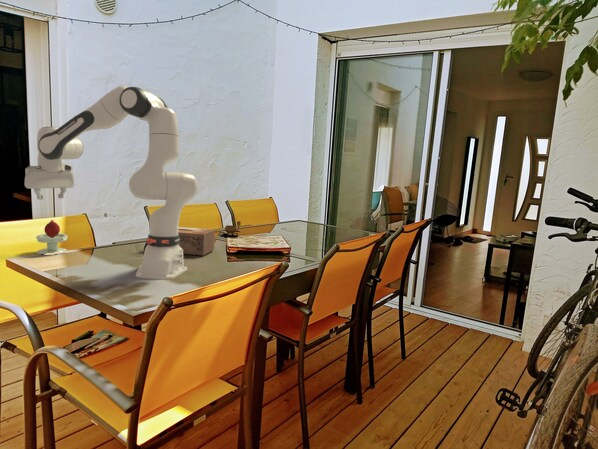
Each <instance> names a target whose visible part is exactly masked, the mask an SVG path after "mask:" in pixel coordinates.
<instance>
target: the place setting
mask: <svg viewBox="0 0 598 449" xmlns="http://www.w3.org/2000/svg"><path fill="white" fill-rule="evenodd" d="M241 225H242V222H241V220H240V221H236V225H225V226H224V229H222V230H220V234H222V233H224V234H238V233H235V232H239V233H240V234H242V233H241V231H238V229H239V230H240V226H241ZM222 231H226V232H227V233H225V232H222Z"/></svg>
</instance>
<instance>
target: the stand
mask: <svg viewBox="0 0 598 449" xmlns="http://www.w3.org/2000/svg"><path fill="white" fill-rule="evenodd" d="M68 237H69V236H68V234H65V233H59V234H58V235H57V236H55V237H54V238H51V237H49V236H48V235H47V234H46V233H43V234H41V233H40V234H39V235H36V238H35V239H36V240H37V242H38V243H42V244H44V243H45V244H46V247H45V248H43V249H39V250H37V255H39V254H46V253H54V252H63V251H67V252H68V250H67V249H68V248H67V249H66V248H64V247H59V245H58V244H59V243H63V242H66V241H67V239H68Z"/></svg>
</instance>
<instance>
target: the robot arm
mask: <svg viewBox="0 0 598 449" xmlns="http://www.w3.org/2000/svg"><path fill="white" fill-rule="evenodd" d="M129 115H130V116H132V117H135V118H137V119H139V120H141V121H145V122H147V124H148V152H147V158H146V160H145V162H144V163H143V165H142V167H140V169H138V170H137V171H136V172H134V173H132V175H131V177H130V179H129V182H128V189H129V191H130V193H131V194H132V196H133V197H134V198H138V199H143V200H151V201H154V200H156V201H157V200H158V201H159V200H161V201H165V203H164V205H163V206H161V207H160V208H157V209H155V210H153V211H151V212H152V213H150V215H149V219H148V220H149V221H148V223H149V229H148V231H149V232H148V235H147V238H146V243H147V246H146V247H145V250H144V254H143V257H142V259H141V261H142V262H141V264H140V265H139V266H138V269H137V271H136V273H135V277H136V278H140V279H148V280H172V279H173V280H174V278H176V277H178V276H180V275H182V274H183V273H185V272H187V271H188V267H187V266H185V265H184V254H183V249H182V248H181V247H180V246H179V240H180V238H179V234H178V228H179V227H180V226H179V224H180V216H181V214H182V213H181V212H182V210H183V209H184V207H185V206H186V204H187V203H189V201H191V200H193V199H194V198H195V196H196V195H197V193H198V190H199V183H198V180H197V179H196V176H194V175H193V174H189V173H185V172H181V171H179V172H177V171H176V172H175V171H164V170H163V169H164V166H166V165H168V164H170V163H172V162H173V161H176V160H177V158H178V157H179V154H180V148H179V147H180V143H179V142H180V140H179V139H180V138H179V135H180V134H179V133H180V132H179V124H178V118H177V114H176V113H175V111H174V110H173V109H171V108H169V107H168V104H167V103H166V102H165V101H164V100H163V99H162V98H161V97H158V96H156V95H155V94H153V93H152V92H151V91H147V90H145V89H142V88H140V87H139V86H138V87H137V86H126V85H119V86H117V87H115V88H113V89H112V90H110V91H109V92H107V93H106V94H104V95H103V96H102V97H101V98H100V99H99V100H97V101H96V102H95V103H93V104H92V105H91V106H90V107H88V108H86V109H85V110H83V111H82V112H80V113H79V114H76V115H75V116H73V117H72V118H70V119H68V121H67V122H65V123H64V124H62V125H61V126H60V127H57V126H44V127H40V128H39V129H38V131H37V136H36V147H37V148H36V149H37V152H38V155H37V165H28V166H27V167H26V168H25V170H24V172H25V173H24V174H25V177H24V187H25V188H26V189H31V190H33V192H34V193H35V195H36V200H38V201H39V200H43V199H44V195H43V194H41V189H59V190H60V192H59V193H57V198H58V199H64V198H65V193H66V192H67V189H68V188H70V189H71V188H74V186H75V176H74V172H73V169H74V167H73V166H72V165H70V164H67V163H64V162H63V161H62V160H75V159H79V158H80V157H81V156H82V155H83V153H84V144H83V142H82V141H81V140H80V138H78V137H79V136H80V135H82V134H84V133H86V132H89V131H90V132H91V131H94V130H95V131H96V130H108V129H112V128H113V127H115V126H117V125H119V123H121V122H122V121H123V120H124V119H125V118H126V117H128V116H129Z"/></svg>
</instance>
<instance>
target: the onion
mask: <svg viewBox="0 0 598 449" xmlns="http://www.w3.org/2000/svg"><path fill="white" fill-rule="evenodd" d="M43 230H44V234H47V235H48V236H49V237H51V238H54V237H55V236H57V235H58V234H60V232H61V227H60V225H59V224H58V223H57V222H55V221H54V219H50V221H49V222H48V223H47V224H46V225H45V226H44V229H43Z"/></svg>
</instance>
